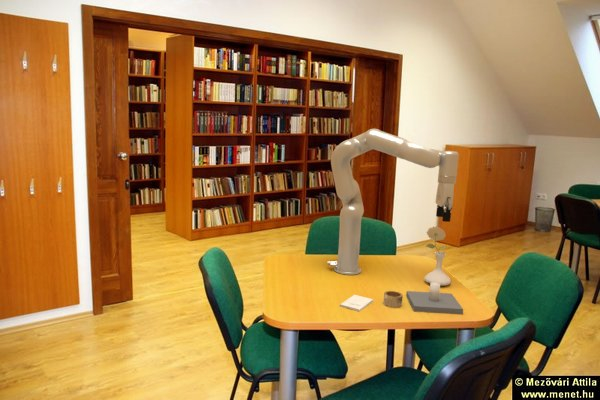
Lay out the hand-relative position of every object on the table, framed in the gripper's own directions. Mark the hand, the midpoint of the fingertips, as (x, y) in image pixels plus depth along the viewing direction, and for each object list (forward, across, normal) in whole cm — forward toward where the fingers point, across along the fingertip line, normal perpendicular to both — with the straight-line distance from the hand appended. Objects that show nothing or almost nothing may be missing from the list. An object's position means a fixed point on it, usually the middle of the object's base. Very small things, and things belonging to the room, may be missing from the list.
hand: (442, 219), depth 212 cm
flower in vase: (+28, +2, -1) cm, 29 cm away
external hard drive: (+29, +31, -39) cm, 58 cm away
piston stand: (+28, +28, -9) cm, 41 cm away
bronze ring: (+28, +30, -25) cm, 48 cm away
